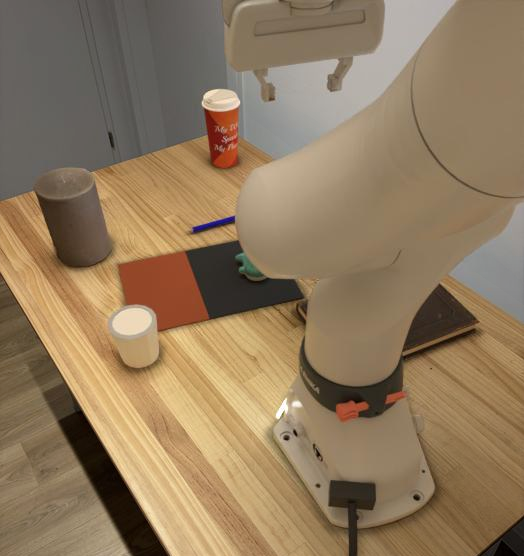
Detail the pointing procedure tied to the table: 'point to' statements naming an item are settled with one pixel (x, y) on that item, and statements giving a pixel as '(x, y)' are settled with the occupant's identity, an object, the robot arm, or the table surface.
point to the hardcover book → (430, 322)
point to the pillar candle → (73, 216)
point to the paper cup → (222, 126)
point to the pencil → (212, 224)
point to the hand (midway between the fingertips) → (301, 94)
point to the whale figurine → (249, 268)
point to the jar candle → (135, 335)
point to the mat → (200, 285)
